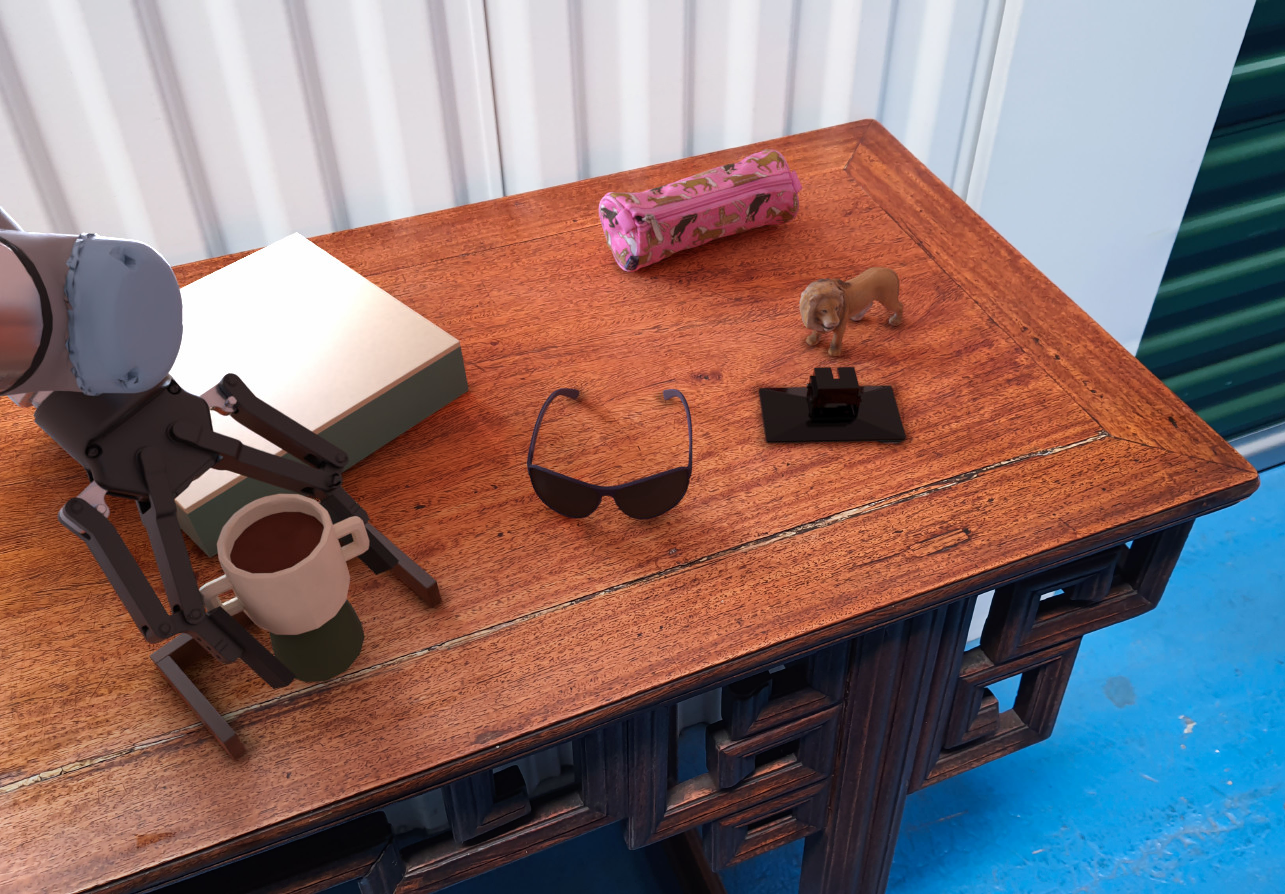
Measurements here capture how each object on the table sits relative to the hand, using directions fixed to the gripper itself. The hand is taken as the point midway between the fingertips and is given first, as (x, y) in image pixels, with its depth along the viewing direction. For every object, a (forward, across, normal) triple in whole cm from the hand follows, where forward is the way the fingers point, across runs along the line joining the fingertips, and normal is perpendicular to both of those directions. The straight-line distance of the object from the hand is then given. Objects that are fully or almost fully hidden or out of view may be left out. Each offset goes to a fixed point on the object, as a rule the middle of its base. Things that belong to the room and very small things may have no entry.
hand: (338, 622), depth 67 cm
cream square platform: (-14, -20, -24) cm, 34 cm away
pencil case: (+3, -61, -6) cm, 61 cm away
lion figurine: (+18, -52, +8) cm, 56 cm away
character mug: (+2, 0, -6) cm, 6 cm away
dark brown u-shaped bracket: (+1, -1, -9) cm, 9 cm away
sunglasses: (+9, -28, -1) cm, 29 cm away
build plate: (+19, -42, +10) cm, 47 cm away
